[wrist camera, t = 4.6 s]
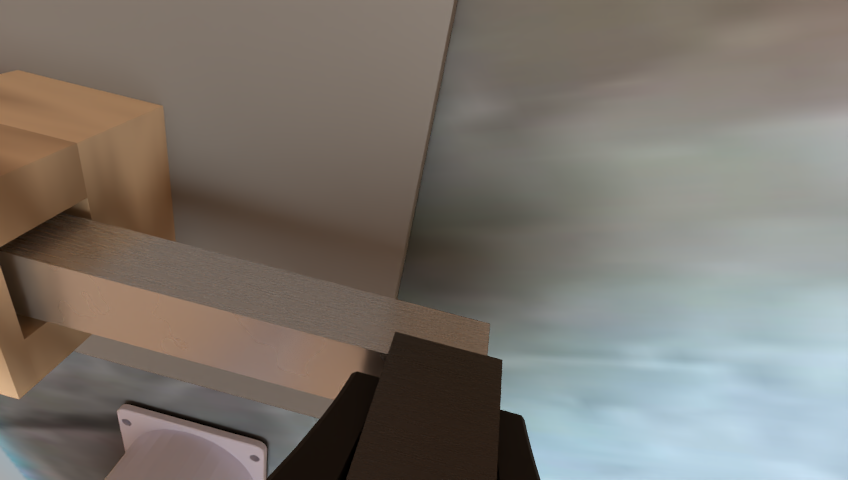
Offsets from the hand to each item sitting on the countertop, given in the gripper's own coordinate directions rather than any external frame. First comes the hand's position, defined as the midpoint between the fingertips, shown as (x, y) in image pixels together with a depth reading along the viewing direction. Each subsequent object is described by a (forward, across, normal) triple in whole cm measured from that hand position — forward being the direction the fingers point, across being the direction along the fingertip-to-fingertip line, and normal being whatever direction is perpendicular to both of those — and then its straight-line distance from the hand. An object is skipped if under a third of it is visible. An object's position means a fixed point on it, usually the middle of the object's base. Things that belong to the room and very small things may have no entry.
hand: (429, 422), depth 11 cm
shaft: (+3, +6, 0) cm, 7 cm away
